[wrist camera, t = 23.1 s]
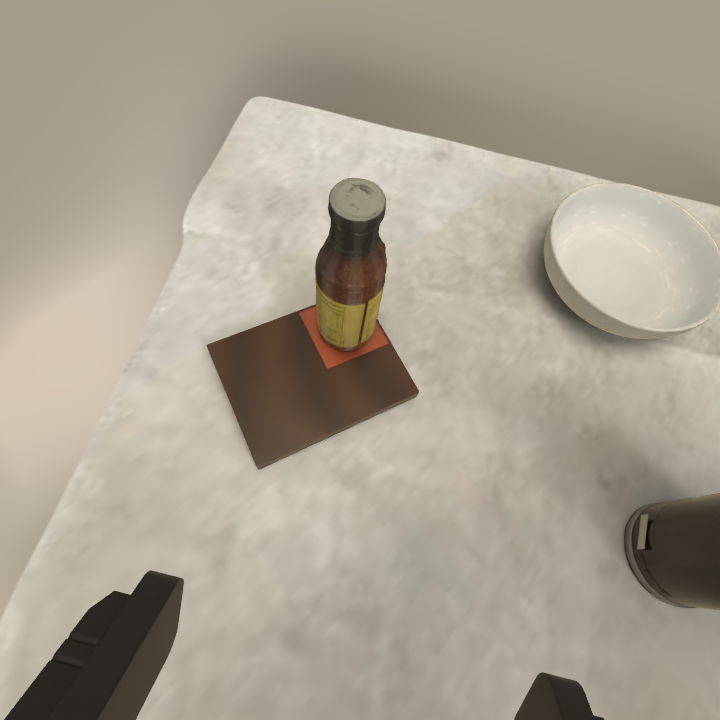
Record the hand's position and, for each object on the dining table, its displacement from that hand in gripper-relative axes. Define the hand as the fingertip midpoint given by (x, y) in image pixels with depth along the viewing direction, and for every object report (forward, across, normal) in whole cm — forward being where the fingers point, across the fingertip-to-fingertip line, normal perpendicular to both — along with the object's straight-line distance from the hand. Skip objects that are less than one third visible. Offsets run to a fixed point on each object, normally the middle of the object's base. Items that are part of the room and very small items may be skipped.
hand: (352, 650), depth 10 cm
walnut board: (+38, +6, +10) cm, 40 cm away
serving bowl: (+54, -26, -6) cm, 60 cm away
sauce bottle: (+40, +4, +5) cm, 41 cm away
